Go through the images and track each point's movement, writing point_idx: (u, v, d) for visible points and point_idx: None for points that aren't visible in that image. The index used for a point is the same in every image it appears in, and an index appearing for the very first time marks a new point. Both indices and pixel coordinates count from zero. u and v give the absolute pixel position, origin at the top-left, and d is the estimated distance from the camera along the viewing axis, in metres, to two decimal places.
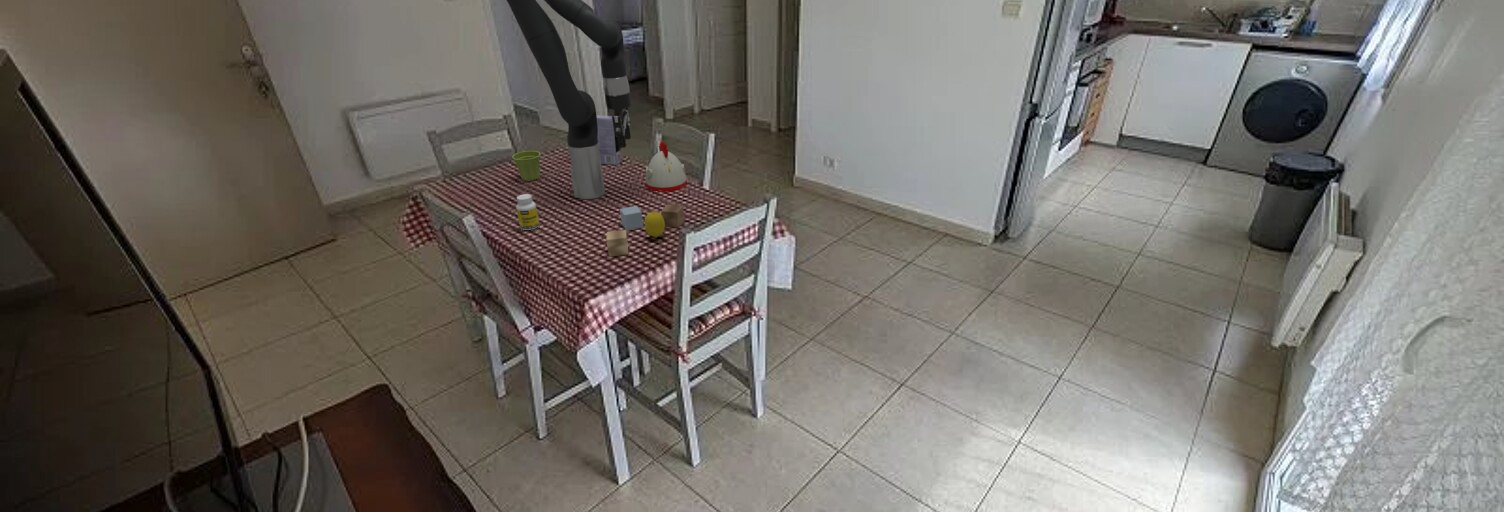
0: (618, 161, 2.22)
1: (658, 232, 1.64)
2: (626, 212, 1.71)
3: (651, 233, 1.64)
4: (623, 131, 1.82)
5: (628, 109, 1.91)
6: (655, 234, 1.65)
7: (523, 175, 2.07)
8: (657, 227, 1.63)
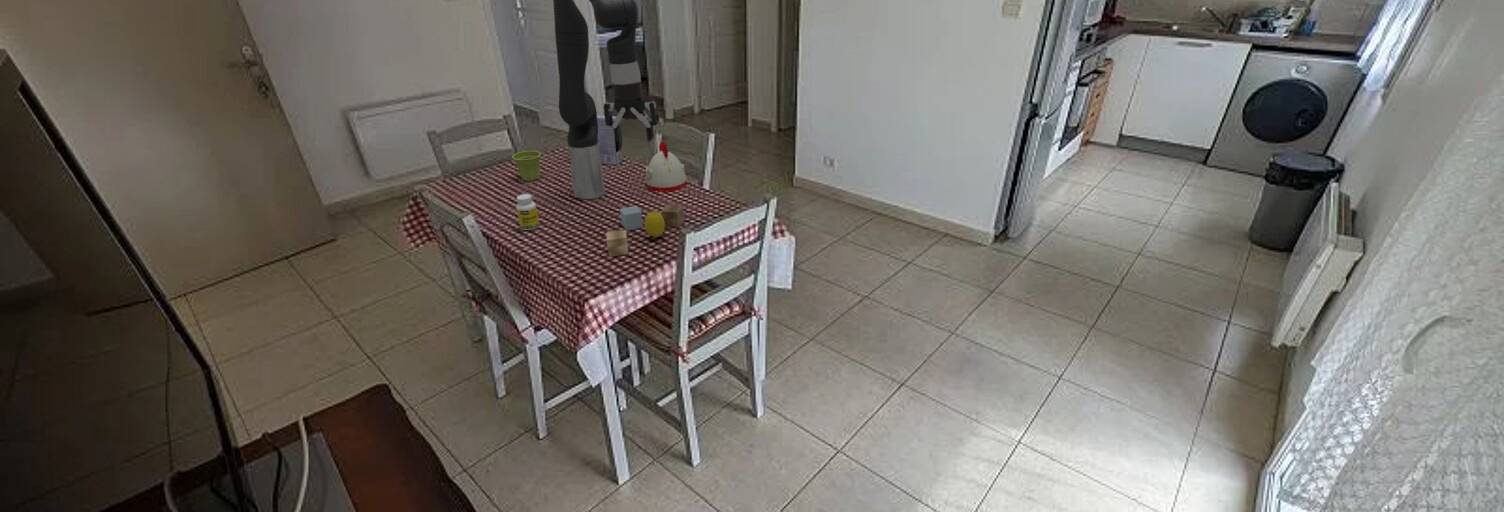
0: (618, 161, 2.22)
1: (658, 232, 1.64)
2: (626, 212, 1.71)
3: (651, 233, 1.64)
4: None
5: None
6: (655, 234, 1.65)
7: (523, 175, 2.07)
8: (657, 227, 1.63)
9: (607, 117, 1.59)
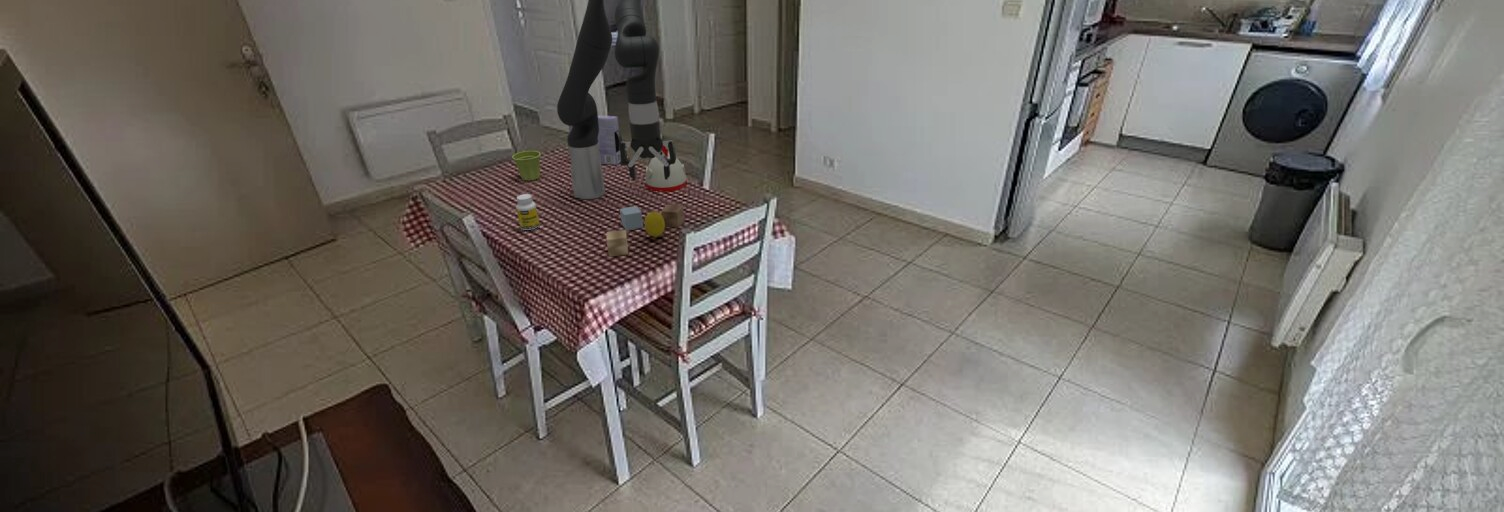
0: (618, 161, 2.22)
1: (658, 232, 1.64)
2: (626, 212, 1.71)
3: (651, 233, 1.64)
4: (667, 158, 1.58)
5: None
6: (655, 234, 1.65)
7: (523, 175, 2.07)
8: (657, 227, 1.63)
9: (623, 156, 1.55)
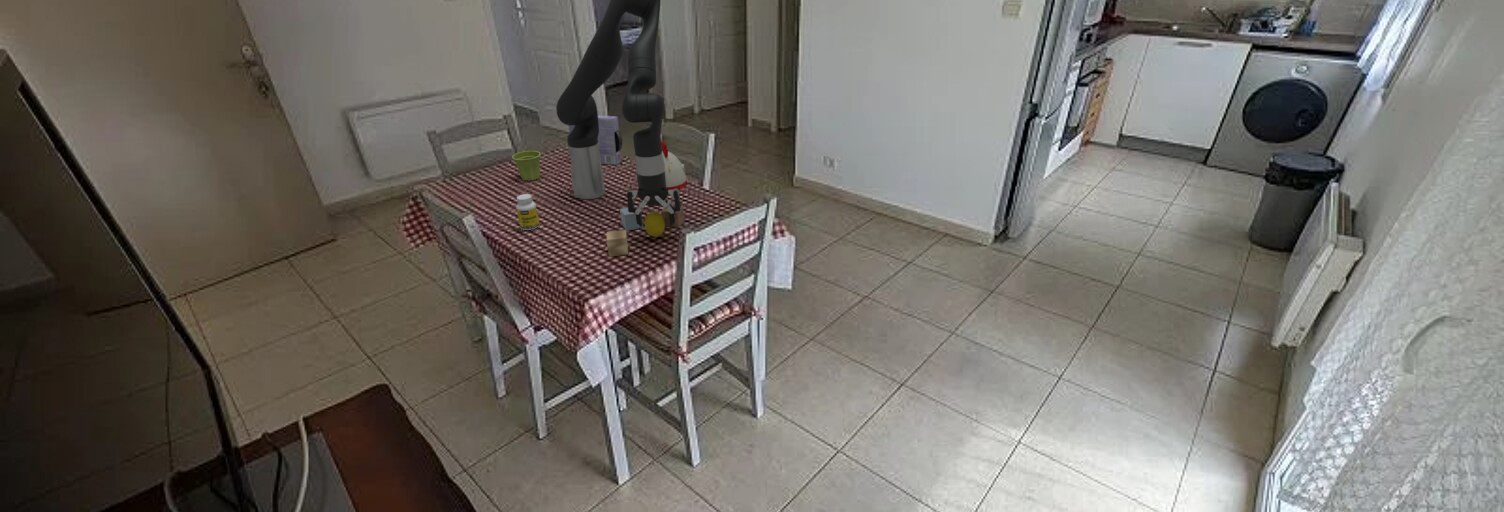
0: (618, 161, 2.22)
1: (658, 232, 1.64)
2: (626, 212, 1.71)
3: (651, 233, 1.64)
4: (672, 205, 1.65)
5: None
6: (655, 234, 1.65)
7: (523, 175, 2.07)
8: (657, 227, 1.63)
9: (630, 204, 1.62)
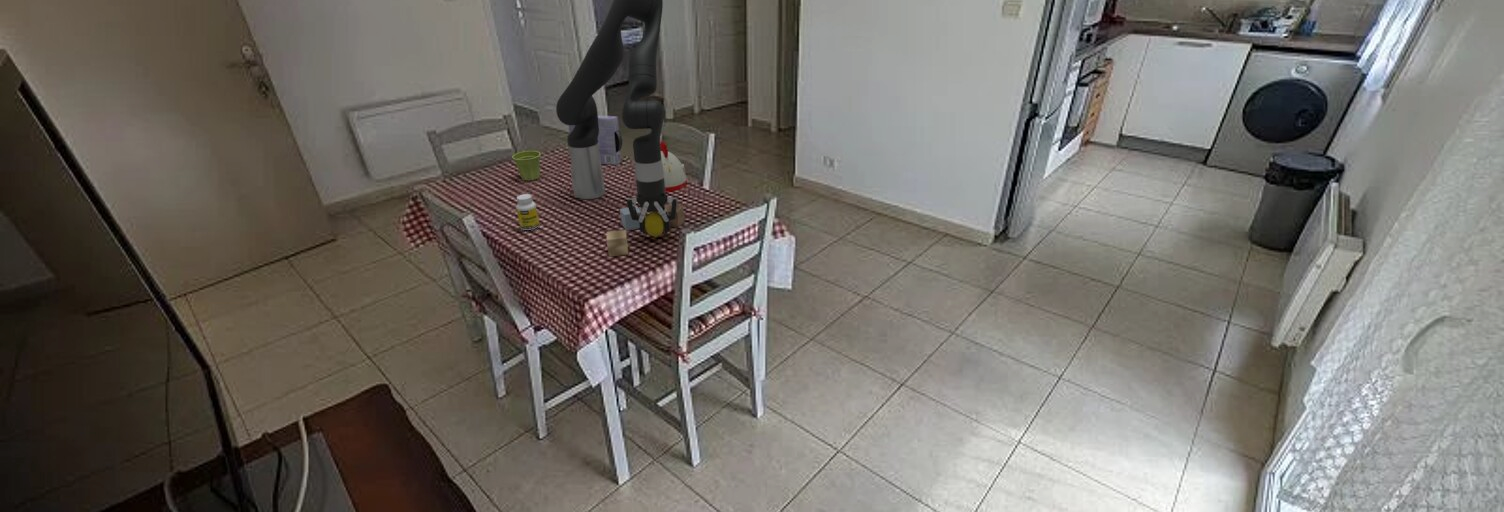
0: (618, 161, 2.22)
1: (658, 232, 1.64)
2: (626, 212, 1.71)
3: (651, 233, 1.64)
4: (668, 214, 1.66)
5: None
6: (655, 234, 1.65)
7: (523, 175, 2.07)
8: (657, 227, 1.63)
9: (632, 212, 1.63)
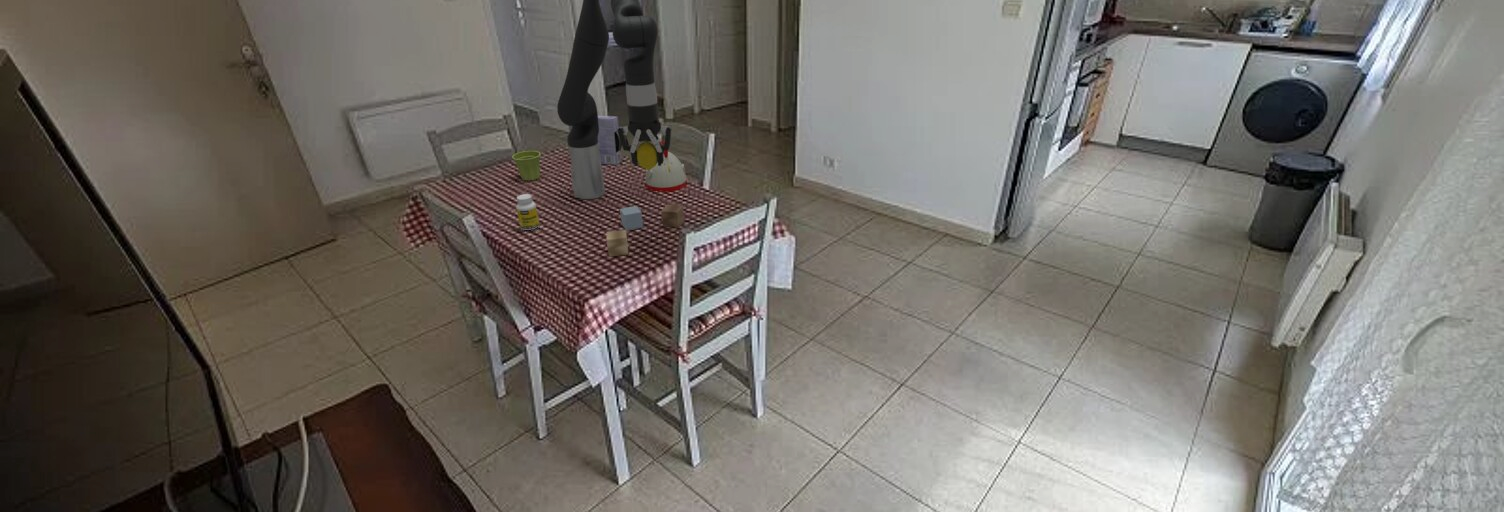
0: (618, 161, 2.22)
1: (651, 163, 1.55)
2: (626, 212, 1.71)
3: (643, 164, 1.55)
4: (662, 145, 1.56)
5: None
6: (648, 166, 1.55)
7: (523, 175, 2.07)
8: (650, 158, 1.54)
9: (623, 142, 1.53)
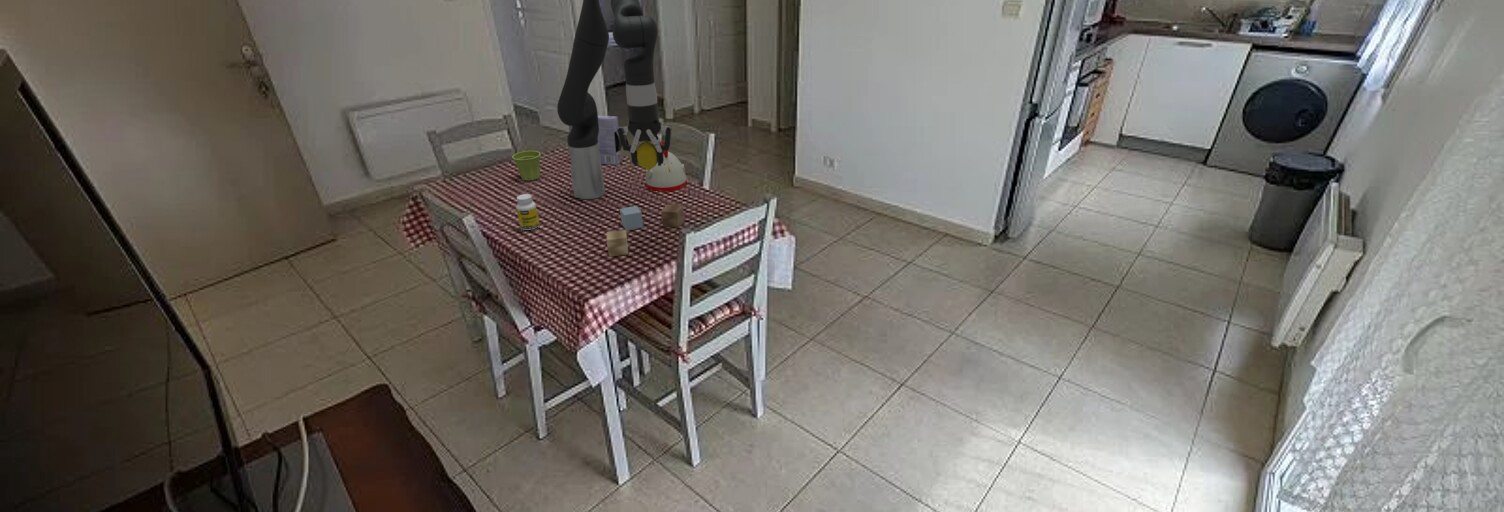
0: (618, 161, 2.22)
1: (651, 163, 1.55)
2: (626, 212, 1.71)
3: (643, 164, 1.55)
4: (662, 145, 1.56)
5: None
6: (648, 166, 1.55)
7: (523, 175, 2.07)
8: (650, 158, 1.54)
9: (623, 141, 1.53)
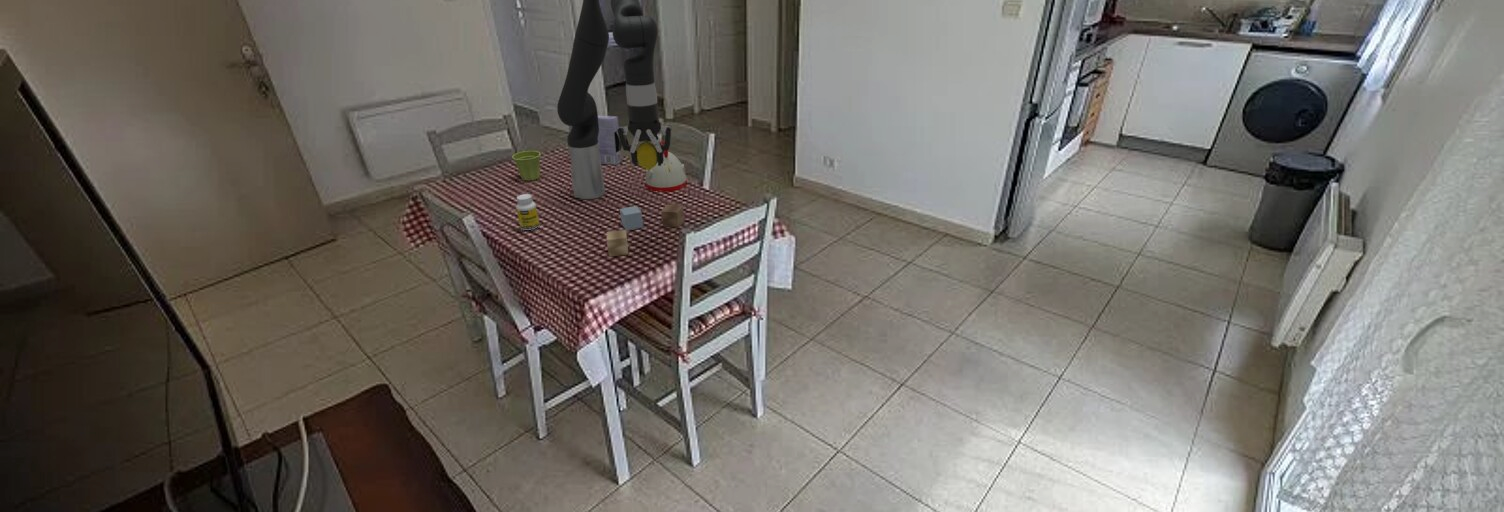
0: (618, 161, 2.22)
1: (651, 163, 1.55)
2: (626, 212, 1.71)
3: (643, 164, 1.55)
4: (662, 145, 1.56)
5: None
6: (648, 166, 1.55)
7: (523, 175, 2.07)
8: (650, 158, 1.54)
9: (623, 141, 1.53)
